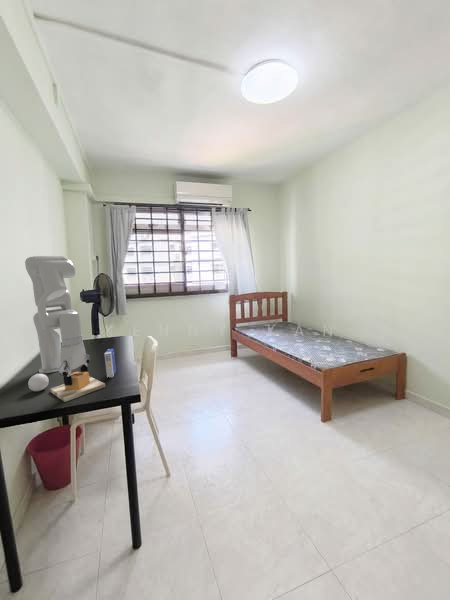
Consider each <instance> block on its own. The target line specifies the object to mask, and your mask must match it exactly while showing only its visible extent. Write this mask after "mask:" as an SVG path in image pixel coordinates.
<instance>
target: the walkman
mask: <svg viewBox="0 0 450 600" xmlns="http://www.w3.org/2000/svg"><path fill="white" fill-rule="evenodd" d="M115 356H116V355H115V349H114V348H108V349H107V350H106V351H105V352H104V363H105V371H106V379H107V378H108V377H109V378H113V377H114V376H115V375H116V373H117V366H116V357H115Z"/></svg>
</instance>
